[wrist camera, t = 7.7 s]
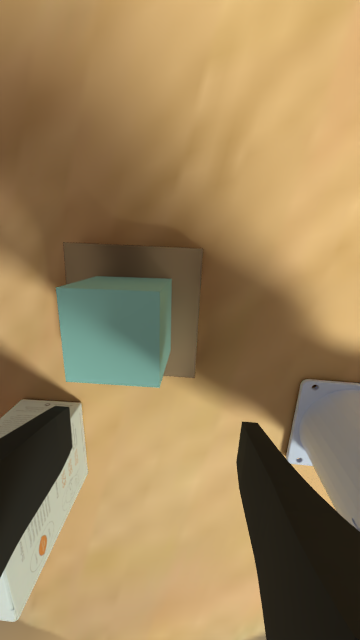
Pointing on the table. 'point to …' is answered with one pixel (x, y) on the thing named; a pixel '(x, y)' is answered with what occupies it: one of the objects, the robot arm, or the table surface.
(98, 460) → the table surface
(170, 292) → the teal block
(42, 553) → the small box
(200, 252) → the walnut slab
